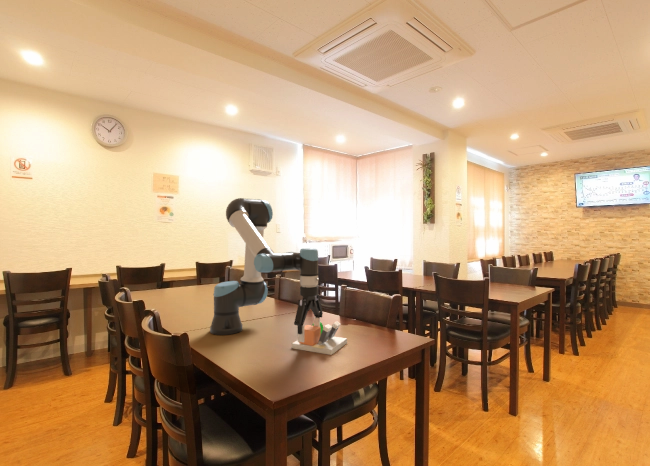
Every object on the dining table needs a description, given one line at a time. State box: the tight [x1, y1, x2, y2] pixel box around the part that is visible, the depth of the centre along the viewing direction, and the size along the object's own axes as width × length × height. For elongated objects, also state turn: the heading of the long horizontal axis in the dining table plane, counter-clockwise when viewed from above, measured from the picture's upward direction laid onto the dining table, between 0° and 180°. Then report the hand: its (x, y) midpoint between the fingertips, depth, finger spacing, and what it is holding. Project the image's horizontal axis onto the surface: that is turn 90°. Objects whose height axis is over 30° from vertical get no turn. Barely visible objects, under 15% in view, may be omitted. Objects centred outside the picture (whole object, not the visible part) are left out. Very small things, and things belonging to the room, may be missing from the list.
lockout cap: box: [299, 324, 321, 346], centre depth 141 cm, size 6×6×6 cm
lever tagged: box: [318, 323, 332, 345], centre depth 138 cm, size 2×4×8 cm, turn 154°
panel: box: [291, 336, 348, 356], centre depth 143 cm, size 18×17×2 cm
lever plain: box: [327, 320, 341, 340], centre depth 144 cm, size 2×4×8 cm, turn 154°
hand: (309, 337), depth 141 cm, fingers open, 13 cm apart
